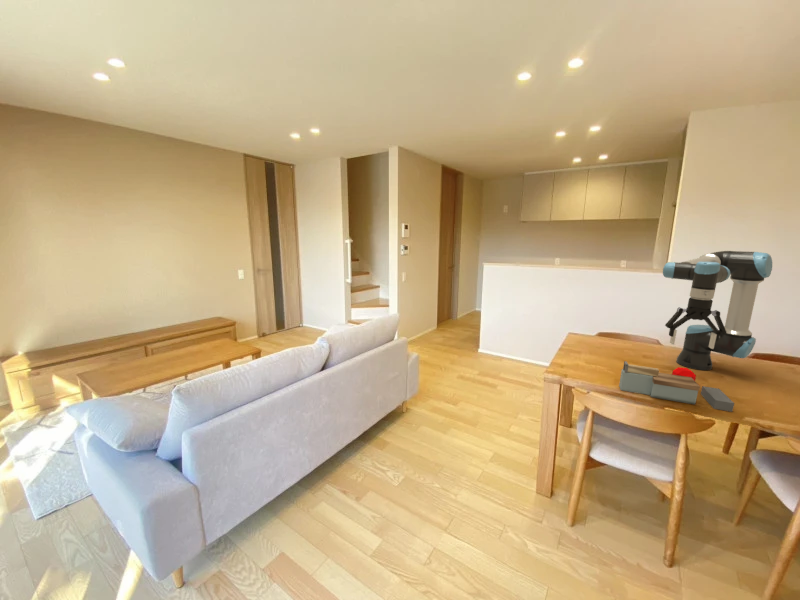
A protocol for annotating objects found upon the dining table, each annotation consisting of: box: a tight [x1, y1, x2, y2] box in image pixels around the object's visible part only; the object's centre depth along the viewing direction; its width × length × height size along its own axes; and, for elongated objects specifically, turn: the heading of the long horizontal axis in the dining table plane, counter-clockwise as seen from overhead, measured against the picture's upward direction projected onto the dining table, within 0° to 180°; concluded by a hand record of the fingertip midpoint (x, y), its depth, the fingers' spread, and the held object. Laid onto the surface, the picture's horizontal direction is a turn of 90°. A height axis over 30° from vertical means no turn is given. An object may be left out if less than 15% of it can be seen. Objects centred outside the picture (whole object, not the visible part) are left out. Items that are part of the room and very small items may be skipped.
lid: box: [652, 372, 701, 392], centre depth 149 cm, size 10×16×2 cm, turn 66°
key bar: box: [625, 363, 660, 377], centre depth 153 cm, size 2×12×3 cm, turn 66°
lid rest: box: [700, 385, 735, 413], centre depth 145 cm, size 14×6×4 cm, turn 156°
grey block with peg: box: [618, 360, 653, 396], centre depth 155 cm, size 4×12×13 cm, turn 66°
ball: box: [671, 366, 697, 382], centre depth 163 cm, size 8×8×8 cm
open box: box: [649, 381, 699, 405], centre depth 150 cm, size 8×16×7 cm, turn 66°
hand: (691, 345), depth 144 cm, fingers open, 13 cm apart
